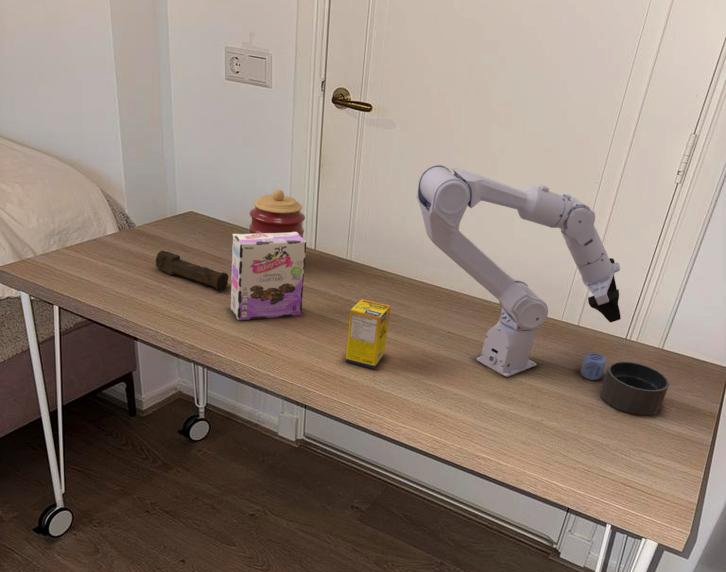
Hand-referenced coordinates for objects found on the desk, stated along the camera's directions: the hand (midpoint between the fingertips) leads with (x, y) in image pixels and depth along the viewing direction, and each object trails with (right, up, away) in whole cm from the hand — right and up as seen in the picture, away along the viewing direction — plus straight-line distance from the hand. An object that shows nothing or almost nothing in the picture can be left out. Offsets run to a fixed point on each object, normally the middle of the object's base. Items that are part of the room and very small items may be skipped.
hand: (613, 307), depth 140 cm
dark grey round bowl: (+1, -18, -6) cm, 20 cm away
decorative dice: (-4, -13, +1) cm, 14 cm away
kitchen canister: (-71, +15, +34) cm, 80 cm away
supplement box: (-49, -11, -4) cm, 50 cm away
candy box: (-69, 0, +9) cm, 70 cm away
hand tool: (-88, +8, +19) cm, 91 cm away
